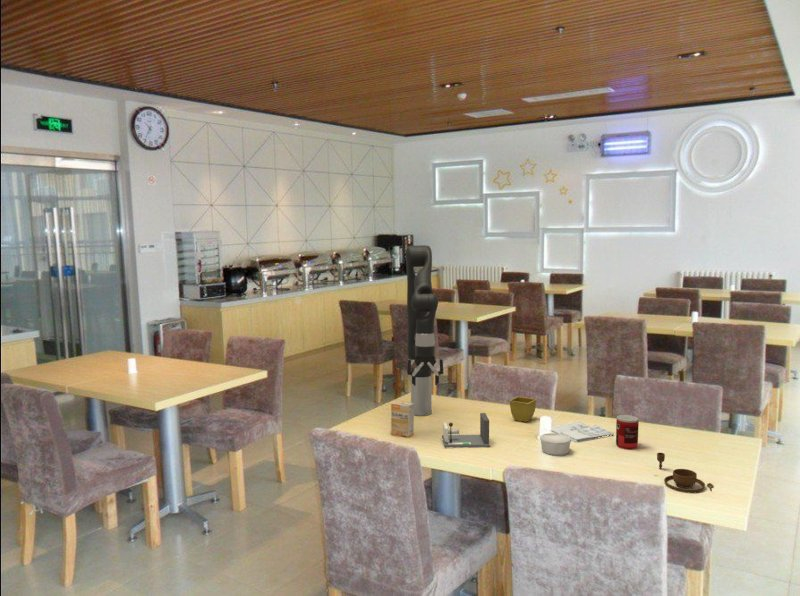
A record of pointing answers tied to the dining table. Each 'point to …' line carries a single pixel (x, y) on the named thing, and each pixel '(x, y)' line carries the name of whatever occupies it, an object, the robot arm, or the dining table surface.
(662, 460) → the place setting
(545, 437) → the ramekin
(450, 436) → the black ball-ended rod
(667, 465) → the dining table surface
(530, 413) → the flower pot
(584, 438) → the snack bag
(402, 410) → the supplement box
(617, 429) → the canned food
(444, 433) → the pad
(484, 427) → the gauge frame
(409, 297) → the robot arm
